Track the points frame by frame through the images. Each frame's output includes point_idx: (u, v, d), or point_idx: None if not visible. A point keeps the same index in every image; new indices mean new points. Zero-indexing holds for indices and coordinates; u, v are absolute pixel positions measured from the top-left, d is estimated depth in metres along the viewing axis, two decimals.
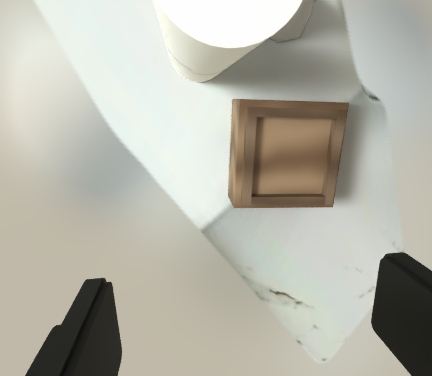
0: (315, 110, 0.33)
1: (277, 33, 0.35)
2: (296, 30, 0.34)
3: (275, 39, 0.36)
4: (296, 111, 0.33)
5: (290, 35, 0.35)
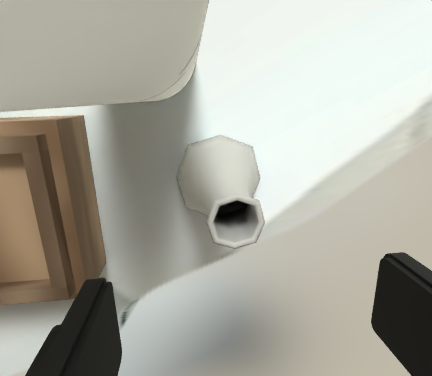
0: (56, 252, 0.20)
1: (184, 174, 0.23)
2: (189, 201, 0.24)
3: (179, 172, 0.25)
4: (48, 222, 0.19)
5: (185, 193, 0.24)
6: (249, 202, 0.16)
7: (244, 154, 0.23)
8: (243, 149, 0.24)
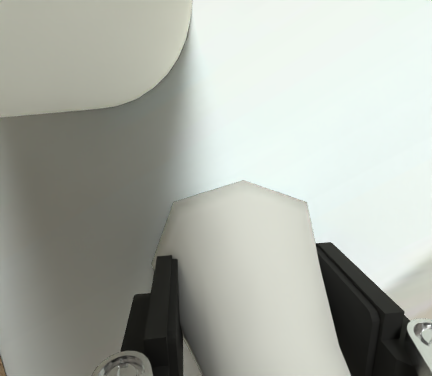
0: None
1: None
2: None
3: (156, 257, 0.12)
4: None
5: None
6: None
7: (300, 229, 0.10)
8: (294, 214, 0.11)
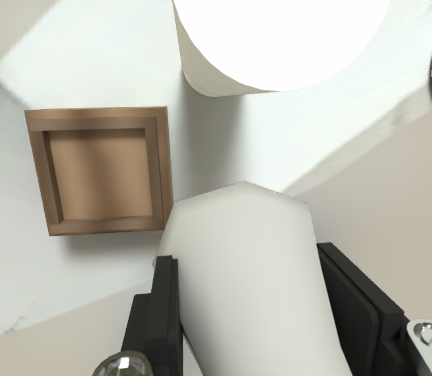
0: (158, 194, 0.30)
1: None
2: None
3: None
4: (155, 173, 0.29)
5: None
6: None
7: (301, 229, 0.10)
8: (295, 214, 0.11)
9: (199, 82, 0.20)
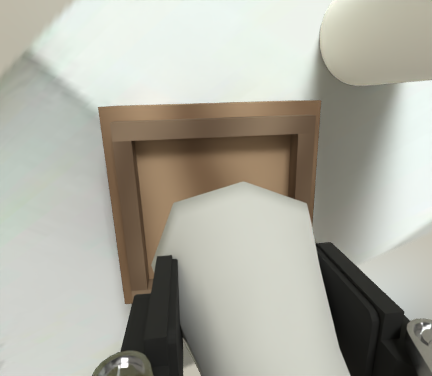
0: None
1: None
2: None
3: (156, 258, 0.12)
4: None
5: None
6: None
7: (300, 230, 0.10)
8: (294, 215, 0.11)
9: None
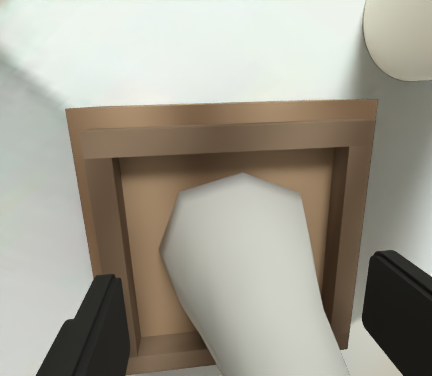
0: (351, 286, 0.14)
1: (172, 252, 0.12)
2: (183, 303, 0.12)
3: (163, 242, 0.13)
4: (353, 244, 0.13)
5: (174, 283, 0.13)
6: None
7: (293, 215, 0.11)
8: (288, 202, 0.12)
9: None
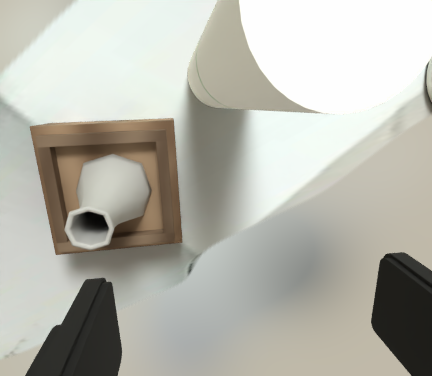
0: (169, 207, 0.30)
1: (78, 188, 0.27)
2: None
3: (77, 186, 0.28)
4: (167, 186, 0.29)
5: None
6: (98, 212, 0.20)
7: (128, 170, 0.27)
8: (130, 166, 0.28)
9: (222, 97, 0.19)
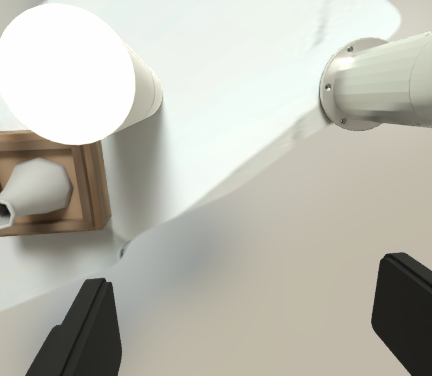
0: (86, 200, 0.37)
1: None
2: None
3: None
4: (83, 184, 0.36)
5: None
6: (1, 202, 0.27)
7: (48, 171, 0.34)
8: (51, 167, 0.35)
9: None
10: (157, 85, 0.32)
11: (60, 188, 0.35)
